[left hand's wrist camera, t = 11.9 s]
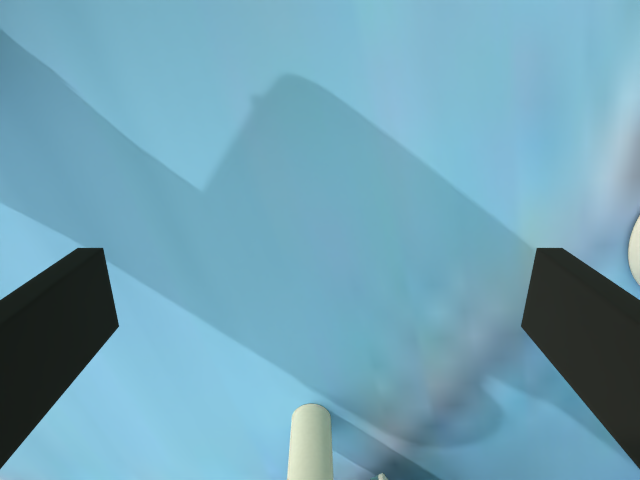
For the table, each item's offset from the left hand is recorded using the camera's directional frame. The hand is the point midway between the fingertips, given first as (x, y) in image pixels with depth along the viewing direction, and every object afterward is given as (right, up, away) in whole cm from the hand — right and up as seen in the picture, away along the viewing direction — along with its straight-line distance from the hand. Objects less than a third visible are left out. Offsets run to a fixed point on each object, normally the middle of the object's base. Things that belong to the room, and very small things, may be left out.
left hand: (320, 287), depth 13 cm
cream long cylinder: (-1, -19, +34) cm, 39 cm away
